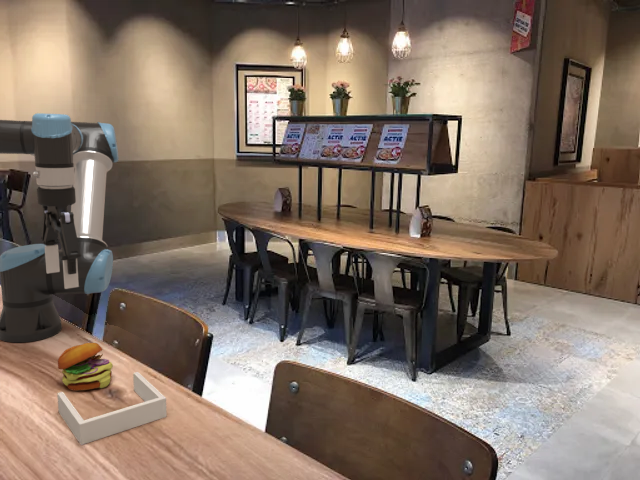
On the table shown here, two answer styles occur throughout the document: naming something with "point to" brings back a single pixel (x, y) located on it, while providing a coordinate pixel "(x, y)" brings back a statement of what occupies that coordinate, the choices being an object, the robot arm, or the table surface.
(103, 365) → the cheeseburger
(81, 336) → the table surface
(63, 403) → the box
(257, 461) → the table surface
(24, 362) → the table surface
